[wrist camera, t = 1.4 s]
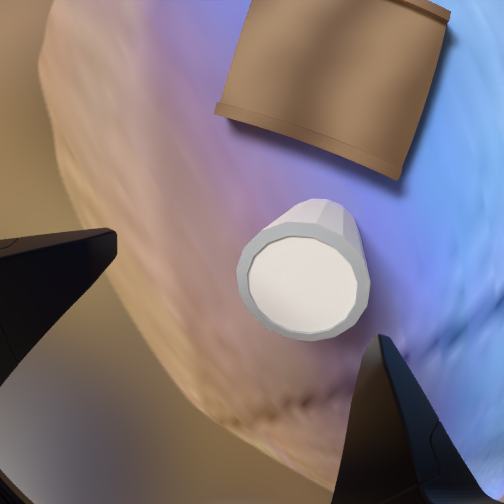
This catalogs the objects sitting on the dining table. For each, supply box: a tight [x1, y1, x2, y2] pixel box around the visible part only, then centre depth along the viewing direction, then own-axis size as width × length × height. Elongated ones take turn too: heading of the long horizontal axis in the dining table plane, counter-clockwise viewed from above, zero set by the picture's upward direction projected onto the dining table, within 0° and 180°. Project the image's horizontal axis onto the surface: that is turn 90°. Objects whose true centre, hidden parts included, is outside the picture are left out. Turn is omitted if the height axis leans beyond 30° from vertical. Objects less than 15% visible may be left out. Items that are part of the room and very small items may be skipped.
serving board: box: [214, 0, 451, 181], centre depth 14 cm, size 12×12×2 cm
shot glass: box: [236, 199, 371, 341], centre depth 18 cm, size 7×7×7 cm
